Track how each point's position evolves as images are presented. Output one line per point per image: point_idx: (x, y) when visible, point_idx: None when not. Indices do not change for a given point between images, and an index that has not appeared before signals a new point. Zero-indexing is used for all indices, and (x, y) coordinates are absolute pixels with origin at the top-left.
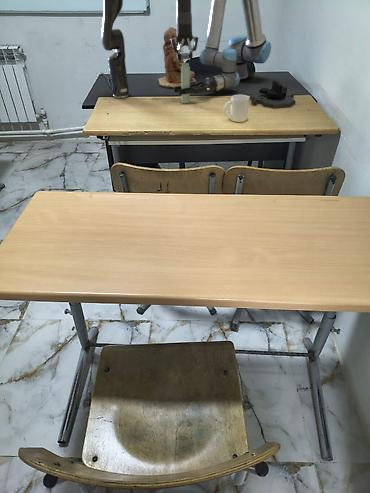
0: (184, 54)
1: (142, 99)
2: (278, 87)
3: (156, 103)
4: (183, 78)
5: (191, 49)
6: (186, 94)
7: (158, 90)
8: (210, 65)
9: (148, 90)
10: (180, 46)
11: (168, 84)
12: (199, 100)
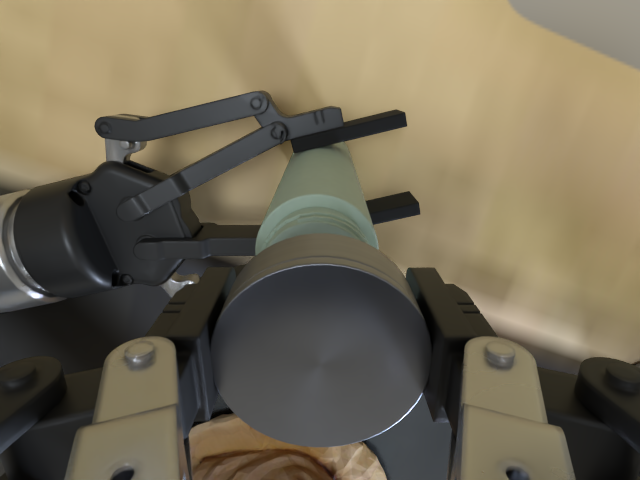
0: (335, 339)
1: (564, 306)
2: None
3: (515, 206)
4: (352, 178)
5: (127, 385)
6: None
7: (417, 417)
8: None
9: None
10: (541, 461)
11: (349, 454)
12: None
